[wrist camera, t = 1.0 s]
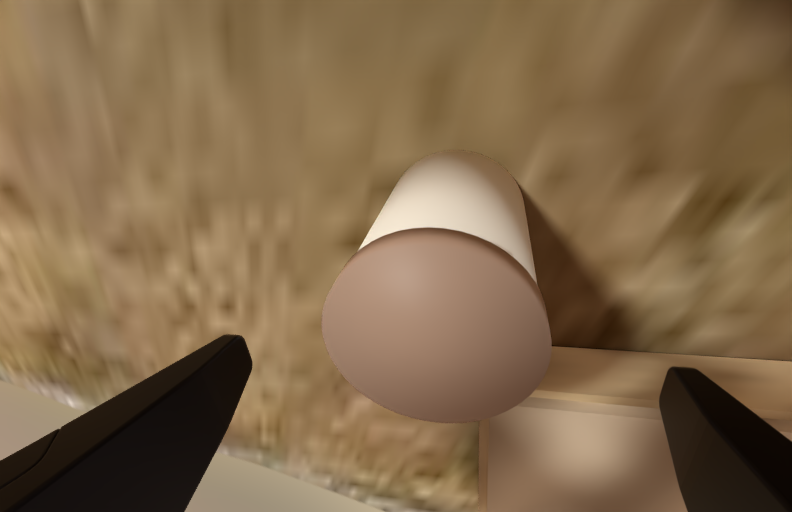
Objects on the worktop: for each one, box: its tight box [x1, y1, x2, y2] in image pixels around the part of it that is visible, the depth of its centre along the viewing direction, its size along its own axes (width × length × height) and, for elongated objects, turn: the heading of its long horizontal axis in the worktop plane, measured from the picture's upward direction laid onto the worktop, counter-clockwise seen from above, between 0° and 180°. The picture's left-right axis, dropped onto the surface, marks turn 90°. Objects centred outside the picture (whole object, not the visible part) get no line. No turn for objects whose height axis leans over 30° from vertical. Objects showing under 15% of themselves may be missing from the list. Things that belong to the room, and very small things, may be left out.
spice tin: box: [322, 150, 552, 423], centre depth 12 cm, size 5×5×7 cm
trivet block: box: [478, 346, 792, 512], centre depth 18 cm, size 12×12×3 cm
